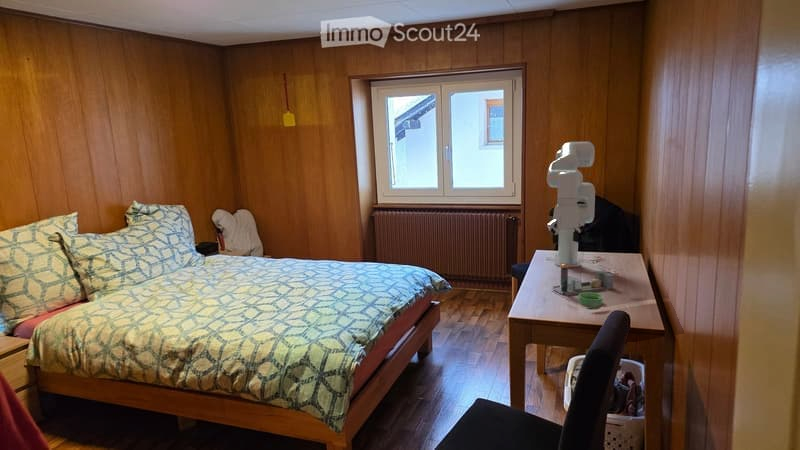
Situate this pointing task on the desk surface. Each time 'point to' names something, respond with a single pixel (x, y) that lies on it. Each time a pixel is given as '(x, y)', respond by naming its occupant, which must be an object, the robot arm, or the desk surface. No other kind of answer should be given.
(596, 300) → the ramekin
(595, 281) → the beige rounded dome
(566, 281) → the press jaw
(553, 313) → the desk surface
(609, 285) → the press frame
